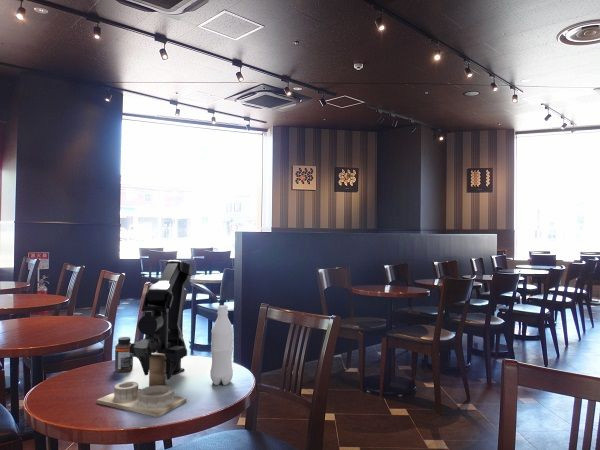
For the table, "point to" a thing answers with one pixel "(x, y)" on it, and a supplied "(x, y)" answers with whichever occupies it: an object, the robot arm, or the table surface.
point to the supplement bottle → (123, 355)
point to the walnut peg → (157, 369)
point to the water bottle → (222, 348)
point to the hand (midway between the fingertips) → (157, 377)
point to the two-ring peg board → (142, 399)
